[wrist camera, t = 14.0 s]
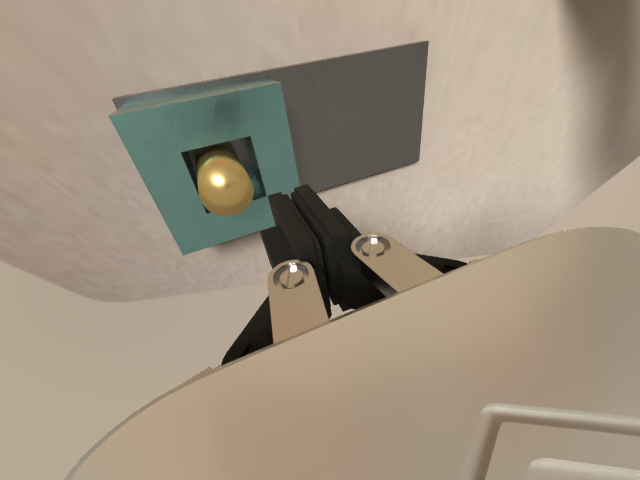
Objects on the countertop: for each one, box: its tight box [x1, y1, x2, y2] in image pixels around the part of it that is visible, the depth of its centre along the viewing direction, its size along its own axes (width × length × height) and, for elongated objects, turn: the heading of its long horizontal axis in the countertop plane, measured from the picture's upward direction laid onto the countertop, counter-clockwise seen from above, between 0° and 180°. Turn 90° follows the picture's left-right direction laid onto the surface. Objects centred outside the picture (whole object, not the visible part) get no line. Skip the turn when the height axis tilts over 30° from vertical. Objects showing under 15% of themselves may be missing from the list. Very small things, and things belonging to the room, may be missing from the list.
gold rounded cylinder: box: [195, 142, 254, 216], centre depth 22 cm, size 4×4×8 cm
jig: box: [109, 41, 429, 255], centre depth 26 cm, size 28×12×6 cm, turn 98°
